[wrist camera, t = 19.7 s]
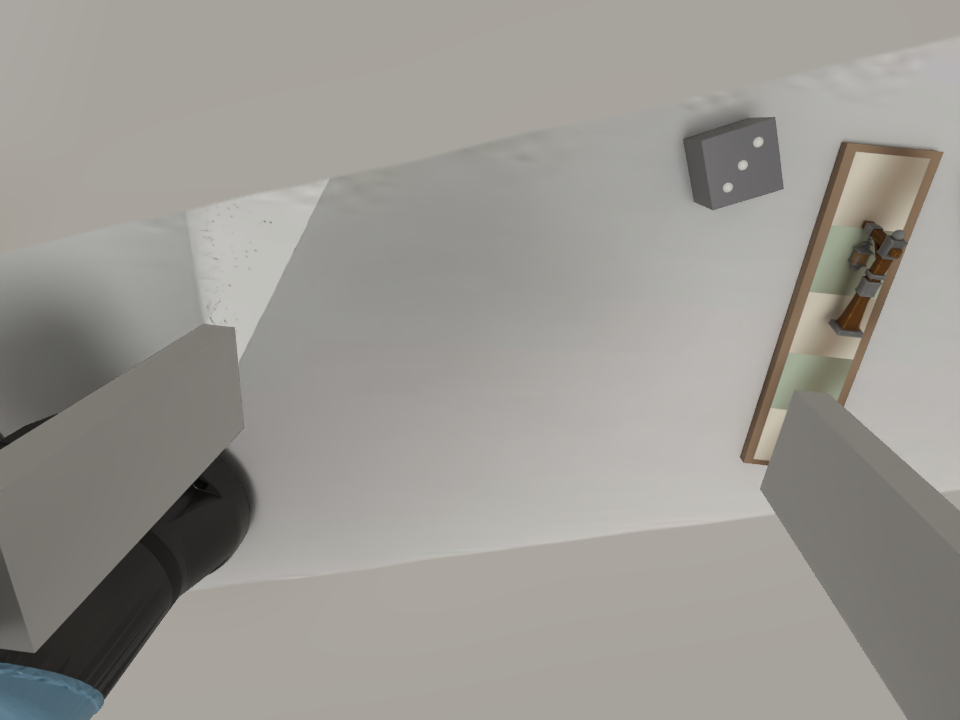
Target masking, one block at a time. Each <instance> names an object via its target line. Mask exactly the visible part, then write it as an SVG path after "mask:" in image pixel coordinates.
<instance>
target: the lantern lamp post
mask: <svg viewBox="0 0 960 720" xmlns="http://www.w3.org/2000/svg"><path fill="white" fill-rule="evenodd" d="M861 228H863V229H864V231H865V233H866V234H867V235H868V236H867V241H862V243H863V244H862V246H858V247H856V246H854V247H853V248H854V249H855V252H854V254H853V255H852V257H851V258H850V259H849V260H848V261H849V262H850V263H851V264H852V265H851V267H850V268H851V270H852V271H858V270H860V268H861V267H867V262H868V259H869V257H870V255H875V261H874V262H873V264H872V265H871V267H870V269H866V270H865V272H864V273H865V274H866V275H865V276H862V277H861V280H860V282H859V284H858V286H857V287H856V288H855V289H854V290H855V291H856V293H855V295H854V297H853V298H852V300H851V301H850V303H849V304H848V306H847V307H846V308H845V310H844V311H843V313H842V314H841V315H840V316H839V318H838V319H830V321H829V322H827V323H828V324H829V325H830V326H831V328H832V329H833V330H834V332H835V333H836V334H837V336H846V337H856V338H863V337H862V336H863V334H864V333H863V332H862V330H861V329H860V324H861V320H862V318H863V315H864V312H865V310H866V307H867V304H868V302H869V301H870V299H871V297H873V298H874V297H875V294H876V292H877V290H878V289H879V287H880V286H881V285H882V284H883V283H882V282H881V280H885V278H886V277H887V276H886V275H885V273H886V272H887V270H888V268H889V267H890V265H891V263H892V262H893V260H898V258H900V256H901V254H902V252H903V251H902V250H903V248H904V247H905V246H906V245H907V244H908V242H906V241H905V240H904V237H905V235H906V234H905V232H904V231H903V230H896V231H894V232H893V234H892V235H887V234H886V233H885V232H884V231H883V230H884V229H883V228H882V227H881V226H880V225H877V224H876V223H875V222H874V221H864V223H863V225H862V227H861ZM868 237H872V239H871V238H868ZM868 240H870V241H868ZM871 240H873V241H874V246H875V253H873V252H872V251H871V250H870V249H869V248H871V247H870V246H873V244H872V243H871Z"/></svg>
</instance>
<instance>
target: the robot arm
mask: <svg viewBox="0 0 960 720" xmlns="http://www.w3.org/2000/svg"><path fill="white" fill-rule="evenodd" d="M243 429H244V422H243V411H242V400H241V390H240V379H239V368H238V357H237V346H236V335H235V327H226V326H217V325H208V324H202V325H201V326H199V327H198V328H196V329H194V330H193V331H191V332H190V333H188V334H186V335H185V336H183V337H181V338H180V339H178V340H177V341H175V342H173V343H172V344H170V345H169V346H167V347H165V348H164V349H162V350H161V351H159V352H157V353H156V354H154V355H152V356H151V357H149V358H148V359H146V360H144V361H143V362H141V363H140V364H138V365H136V366H135V367H133V368H131V369H130V370H128V371H127V372H125V373H123V374H122V375H120V376H119V377H117V378H115V379H114V380H112V381H110V382H109V383H107V384H106V385H104V386H102V387H101V388H99V389H98V390H96V391H94V392H93V393H91V394H89V395H88V396H86V397H85V398H83V399H81V400H80V401H78V402H77V403H75V404H73V405H72V406H70V407H68V408H67V409H65V410H64V411H62V412H60V413H59V414H56V415H53V416H50V417H47V418H45V419H42V420H39V421H37V422H34V423H31V424H29V425H26V426H24V427H22V428H21V429H19V430H17V431H16V432H14V433H12V434H11V435H9V436H7V437H6V438H4V436H3V435H2V434H1V433H0V720H90V718H91V717H92V716H93V715H94V714H96V713H97V712H98V711H99V710H100V709H101V707H102V706H103V703H104V699H105V698H106V697H107V695H108V694H109V693H110V691H111V690H112V688H113V687H114V686H115V684H116V683H117V682H118V680H119V679H120V677H121V676H122V675H123V673H124V672H125V670H126V669H127V668H128V666H129V665H130V663H131V662H132V661H133V659H134V658H135V657H136V655H137V654H138V652H139V651H140V650H141V648H142V647H143V645H144V644H145V643H146V641H147V640H148V639H149V637H150V636H151V634H152V633H153V632H154V630H155V629H156V627H157V626H158V625H159V623H160V622H161V621H162V619H163V618H164V616H165V615H166V614H167V612H168V611H169V610H170V608H171V607H172V605H173V604H174V603H175V601H176V600H177V599H178V597H179V596H180V595H182V594H183V593H185V592H186V591H187V590H189V589H190V588H191V587H193V586H194V585H195V584H196V583H198V582H199V581H200V580H202V579H203V578H204V577H205V576H207V575H208V574H211V573H212V572H214V571H216V570H217V569H219V568H220V567H221V566H223V565H224V564H225V563H226V562H227V561H228V560H229V559H230V558H231V557H232V555H233V554H234V552H235V551H236V550H237V548H238V547H239V545H240V544H241V542H242V541H243V539H244V537H245V535H246V533H247V530H248V527H249V521H250V511H249V505H248V501H247V497H246V495H245V492H244V490H243V488H242V486H241V484H240V483H239V481H238V480H237V478H236V477H235V475H234V474H233V473H232V472H231V471H230V469H229V468H228V467H227V466H226V465H225V464H224V463H223V462H222V461H220V460H219V459H218V458H217V457H218V455H219V454H220V453H221V452H222V451H223V450H224V449H225V448H226V447H227V446H228V445H229V444H230V443H231V441H232V440H233V439H234V438H235V437H236V436H237V435H238V434H239V433H240V432H241V431H242V430H243ZM760 490H761V491H762V493H763V494H764V496H765V497H766V499H767V501H768V502H769V504H770V505H771V507H772V508H773V510H774V511H775V513H776V515H777V516H778V518H779V519H780V521H781V522H782V524H783V525H784V527H785V528H786V530H787V532H788V533H789V535H790V536H791V538H792V540H793V541H794V543H795V544H796V546H797V547H798V549H799V550H800V552H801V553H802V555H803V557H804V558H805V560H806V561H807V563H808V565H809V566H810V568H811V569H812V571H813V572H814V573H815V576H816V577H817V579H818V580H819V582H820V583H821V585H822V586H823V588H824V589H825V591H826V592H827V594H828V596H829V597H830V599H831V600H832V602H833V604H834V605H835V607H836V608H837V610H838V611H839V613H840V614H841V616H842V618H843V619H844V621H845V622H846V624H847V625H848V627H849V629H850V630H851V632H852V633H853V635H854V636H855V638H856V639H857V641H858V643H859V644H860V646H861V647H862V649H863V650H864V652H865V654H866V655H867V657H868V658H869V660H870V661H871V663H872V665H873V666H874V668H875V669H876V671H877V672H878V674H879V675H880V677H881V679H882V680H883V682H884V683H885V685H886V687H887V688H888V690H889V691H890V693H891V694H892V696H893V697H894V699H895V700H896V702H897V704H898V705H899V707H900V708H901V710H902V711H903V713H904V714H905V716H906V718H907V719H908V720H960V511H959V510H958V509H957V508H956V507H955V506H954V505H953V504H951V503H950V502H949V501H948V500H947V499H946V498H945V497H944V496H943V495H941V494H940V493H939V492H938V491H937V490H936V489H935V488H934V487H932V486H931V485H930V484H929V483H928V482H927V481H926V480H925V479H923V478H922V477H921V476H920V475H919V474H918V473H917V472H916V471H915V470H913V469H912V468H911V467H910V466H909V465H908V464H907V463H906V462H904V461H903V460H902V459H901V458H900V457H899V456H898V455H897V454H895V453H894V452H893V451H892V450H891V449H890V448H889V447H888V446H887V445H885V444H884V443H883V442H882V441H881V440H880V439H879V438H878V437H876V436H875V435H874V434H873V433H872V432H871V431H870V430H869V429H868V428H866V427H865V426H864V425H863V424H862V423H861V422H860V421H859V420H857V419H856V418H855V417H854V416H853V415H852V414H851V413H850V412H848V411H847V410H846V409H845V408H844V407H843V406H842V405H841V404H840V403H838V402H837V401H836V400H835V399H834V398H833V397H832V396H831V395H829V394H828V393H819V392H810V391H801V390H794V393H793V396H792V398H791V401H790V404H789V407H788V410H787V413H786V416H785V419H784V421H783V424H782V427H781V430H780V433H779V436H778V439H777V441H776V444H775V447H774V450H773V453H772V456H771V459H770V462H769V464H768V467H767V470H766V473H765V476H764V479H763V482H762V485H761V487H760Z"/></svg>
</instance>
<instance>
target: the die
mask: <svg viewBox="0 0 960 720" xmlns="http://www.w3.org/2000/svg"><path fill="white" fill-rule="evenodd" d="M683 141H684V147H685V152H686V158H687V164H688V169H689V175H690V181H691V186H692V192H693V198H694V202H696V203H698V204H700V205H703V206H705V207H707V208H709V209H711V210H715V209H718V208H721V207H725V206H728V205H731V204H735V203H738V202H742V201H745V200H748V199H752V198H755V197H758V196H762V195H765V194H768V193H772V192H775V191H778V190H782V189H784V188H783V180H782V171H781V163H780V154H779V146H778V137H777V129H776V120H775V117H767V118H748V119H745V120H741V121H738V122H735V123H732V124H729V125H726V126H723V127H720V128H717V129H714V130H711V131H708V132H704V133H701V134H698V135H695V136H692V137H689V138H686V139H683Z"/></svg>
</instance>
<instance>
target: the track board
mask: <svg viewBox="0 0 960 720" xmlns="http://www.w3.org/2000/svg"><path fill="white" fill-rule="evenodd" d="M942 155H943V152H938V151H928V150H917V149H907V148H896V147H886V146H875V145H865V144H854V143H842V144H841V147H840V150H839V153H838V156H837V159H836V162H835V165H834V168H833V172H832V175H831V178H830V181H829V184H828V187H827V190H826V193H825V196H824V199H823V203H822V206H821V209H820V212H819V215H818V218H817V221H816V224H815V227H814V230H813V234H812V237H811V240H810V243H809V246H808V249H807V252H806V255H805V258H804V261H803V265H802V268H801V271H800V274H799V277H798V280H797V283H796V286H795V289H794V293H793V296H792V299H791V302H790V305H789V308H788V311H787V314H786V317H785V320H784V324H783V327H782V330H781V333H780V336H779V339H778V342H777V345H776V348H775V351H774V355H773V358H772V361H771V364H770V367H769V370H768V373H767V376H766V379H765V382H764V386H763V389H762V392H761V395H760V398H759V401H758V404H757V407H756V410H755V413H754V417H753V420H752V423H751V426H750V429H749V432H748V435H747V438H746V441H745V444H744V448H743V451H742V454H741V457H740V458H741V459H742V461H743V462H744V463H752V464H761V465H768V464H769V462H770V459H771V456H772V453H773V450H774V447H775V444H776V441H777V439H778V436H779V433H780V430H781V427H782V424H783V421H784V419H785V416H786V413H787V410H788V407H789V404H790V401H791V398H792V396H793V393H794V390H801V391H810V392H819V393H828V394H829V395H831V396H832V397H833V398H834V399H835V400H836V401H837V402H838V403H840V404H841V405H842V406H843V407H844V404H845V402H846V399H847V397H848V394H849V392H850V389H851V387H852V384H853V382H854V379H855V376H856V374H857V371H858V369H859V366H860V364H861V361H862V359H863V356H864V354H865V351H866V348H867V346H868V343H869V341H870V338H871V336H872V333H873V331H874V328H875V325H876V323H877V320H878V318H879V315H880V313H881V310H882V308H883V305H884V303H885V300H886V297H887V295H888V292H889V290H890V287H891V285H892V282H893V280H894V277H895V275H896V272H897V269H898V267H899V264H900V262H901V259H902V257H903V254H904V252H905V249H906V246H907V245H906V246H905V247H904V248H903V250H902V251H903V252H902V254H901V256H900V258H898V260H893V262H892V263H891V265H890V267H889V268H888V270H887V272H886V273H885V275H886V276H887V277H886V278H885V280H881V282H882V283H883V284H882V285H881V286H880V287H879V289H878V290H877V292H876V294H875V297H874V298H873V297H871V299H870V301H869V302H868V304H867V307H866V310H865V312H864V315H863V318H862V320H861V324H860V329H861V330H862V332H863V333H864V334H863V336H862V337H863V338H856V337H846V336H837V334H836V333H835V332H834V330H833V329H832V328H831V326H830V325H829V324H828V323H827V322H829V321H830V319H838V318H839V316H840V315H841V314H842V313H843V311H844V310H845V308H846V307H847V306H848V304H849V303H850V301H851V300H852V298H853V297H854V295H855V293H856V291H855V290H854V289H855V288H856V287H857V286H858V284H859V282H860V280H861V277H862V276H865V275H866V274H865V273H864V272H865V270H866V269H870V267H871V265H872V264H873V262H874V261H875V255H870V257H869V259H868V262H867V267H861V268H860V270H858V271H852V270H851V268H850V267H851V265H852V264H851V263H850V262H849V261H848V260H849V259H850V258H851V257H852V255H853V254H854V252H855V249H854V248H853V247H854V246H856V247H858V246H862V244H863V243H862V241H867V236H868V235H867V234H866V233H865V231H864V229H863V228H861V227H862V225H863V223H864V221H874V222H875V223H876V224H877V225H880V226H881V227H882V228H883V229H884V230H883V231H884V232H885V233H886V234H887V235H892V234H893V232H894V231H896V230H903V231H904V232H905V234H906V235H905V237H904V240H905V241H906V242H908V241H909V239H910V236H911V234H912V231H913V229H914V226H915V224H916V221H917V218H918V216H919V213H920V211H921V208H922V206H923V203H924V201H925V198H926V196H927V193H928V190H929V188H930V185H931V183H932V180H933V178H934V175H935V173H936V170H937V168H938V165H939V162H940V160H941V157H942ZM868 238H871V239H872V237H868ZM868 241H870V240H868ZM871 243H872V244H873V246H870V247H871V248H869V249H870V250H871V251H872V252H873V253H875V246H874V241H873V240H871Z"/></svg>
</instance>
